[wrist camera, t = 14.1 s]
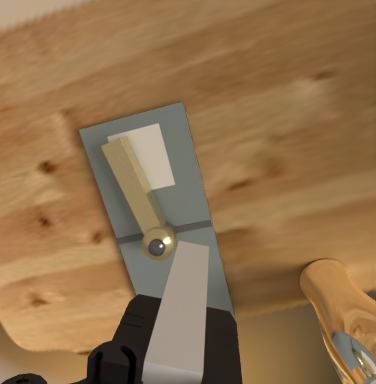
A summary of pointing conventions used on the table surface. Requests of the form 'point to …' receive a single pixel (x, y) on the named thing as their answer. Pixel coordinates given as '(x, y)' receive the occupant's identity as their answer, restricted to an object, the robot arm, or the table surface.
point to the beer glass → (343, 319)
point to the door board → (158, 196)
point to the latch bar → (141, 200)
